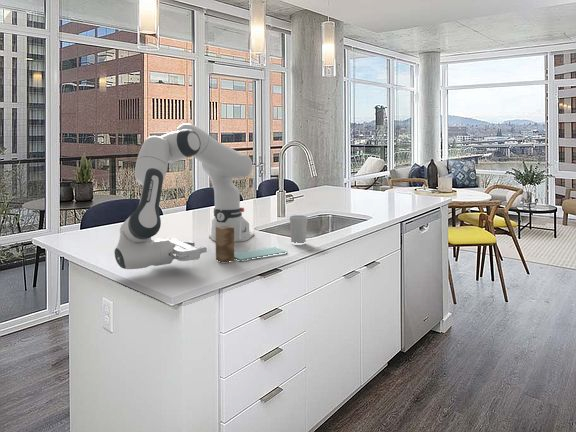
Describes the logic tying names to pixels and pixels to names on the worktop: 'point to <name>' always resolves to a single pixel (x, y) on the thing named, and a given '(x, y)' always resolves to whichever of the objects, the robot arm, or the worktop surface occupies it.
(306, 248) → the worktop surface
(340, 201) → the worktop surface
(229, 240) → the block
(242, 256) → the board
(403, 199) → the worktop surface
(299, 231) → the cup
